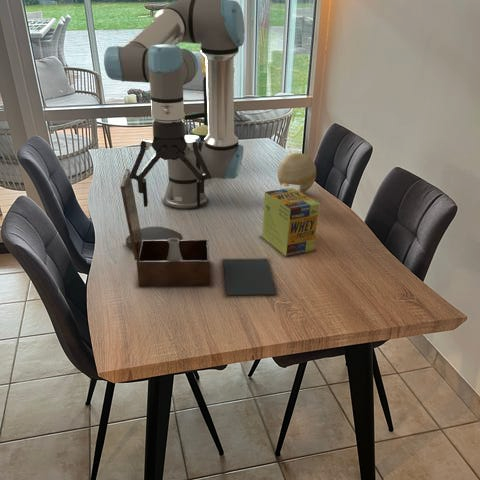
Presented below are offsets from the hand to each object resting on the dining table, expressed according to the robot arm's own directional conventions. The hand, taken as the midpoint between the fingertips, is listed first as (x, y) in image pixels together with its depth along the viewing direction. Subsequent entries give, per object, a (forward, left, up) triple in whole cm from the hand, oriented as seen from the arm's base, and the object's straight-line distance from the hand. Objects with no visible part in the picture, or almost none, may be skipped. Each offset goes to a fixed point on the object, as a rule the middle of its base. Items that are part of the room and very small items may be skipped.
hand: (172, 205), depth 132 cm
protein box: (-19, +35, -21) cm, 45 cm away
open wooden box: (0, 0, -21) cm, 21 cm away
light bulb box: (-39, +38, -21) cm, 58 cm away
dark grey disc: (-19, -7, -21) cm, 29 cm away
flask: (0, 0, -20) cm, 20 cm away
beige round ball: (-65, +45, -21) cm, 82 cm away
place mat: (+2, +20, -21) cm, 29 cm away
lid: (0, -10, -3) cm, 11 cm away
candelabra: (-92, +11, -21) cm, 95 cm away
